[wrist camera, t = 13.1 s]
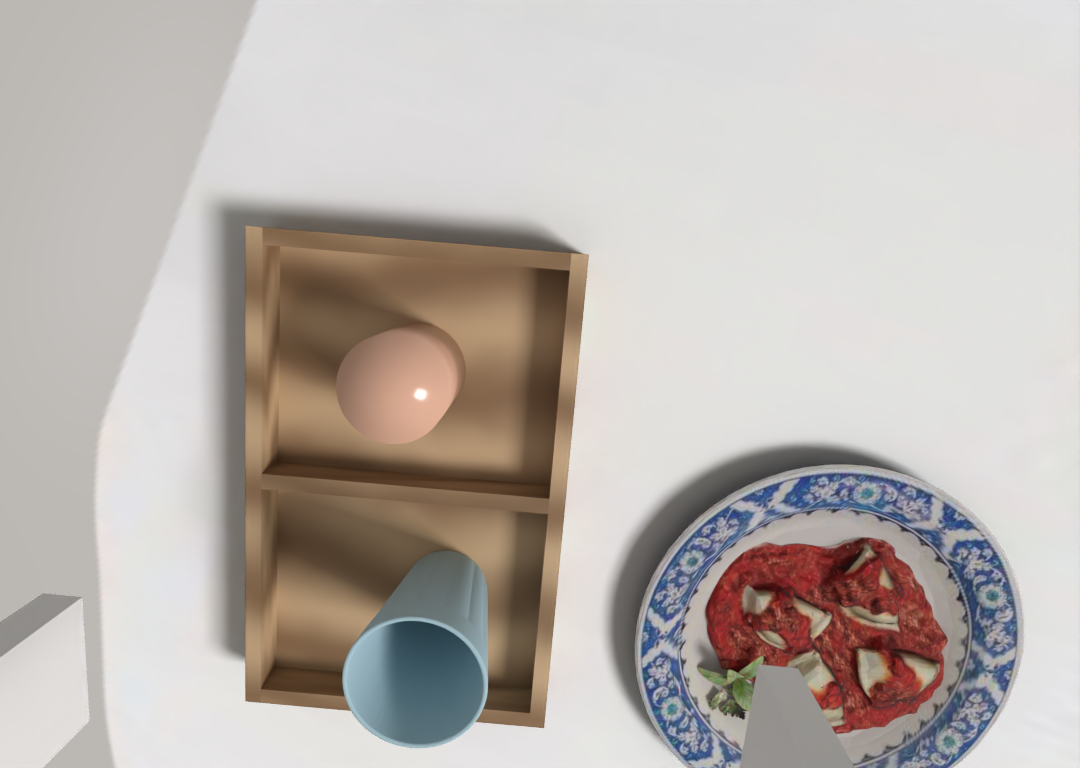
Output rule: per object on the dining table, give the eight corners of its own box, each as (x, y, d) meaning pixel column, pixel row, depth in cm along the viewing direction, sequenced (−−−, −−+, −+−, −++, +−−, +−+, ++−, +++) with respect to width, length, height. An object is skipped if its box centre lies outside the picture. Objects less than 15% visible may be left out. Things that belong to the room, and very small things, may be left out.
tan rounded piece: (373, 318, 41) (337, 329, 34) (468, 326, 41) (450, 338, 34) (370, 410, 42) (334, 439, 35) (462, 418, 42) (444, 448, 35)
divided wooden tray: (271, 229, 41) (245, 225, 38) (585, 255, 41) (588, 254, 38) (268, 669, 47) (245, 701, 43) (544, 693, 47) (543, 727, 43)
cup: (388, 635, 45) (340, 744, 35) (391, 530, 44) (342, 612, 33) (498, 642, 45) (482, 754, 35) (504, 538, 44) (490, 622, 33)
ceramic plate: (971, 412, 43) (1002, 423, 40) (1027, 748, 47) (1058, 780, 44) (590, 508, 44) (593, 526, 41) (678, 823, 49) (686, 859, 46)
